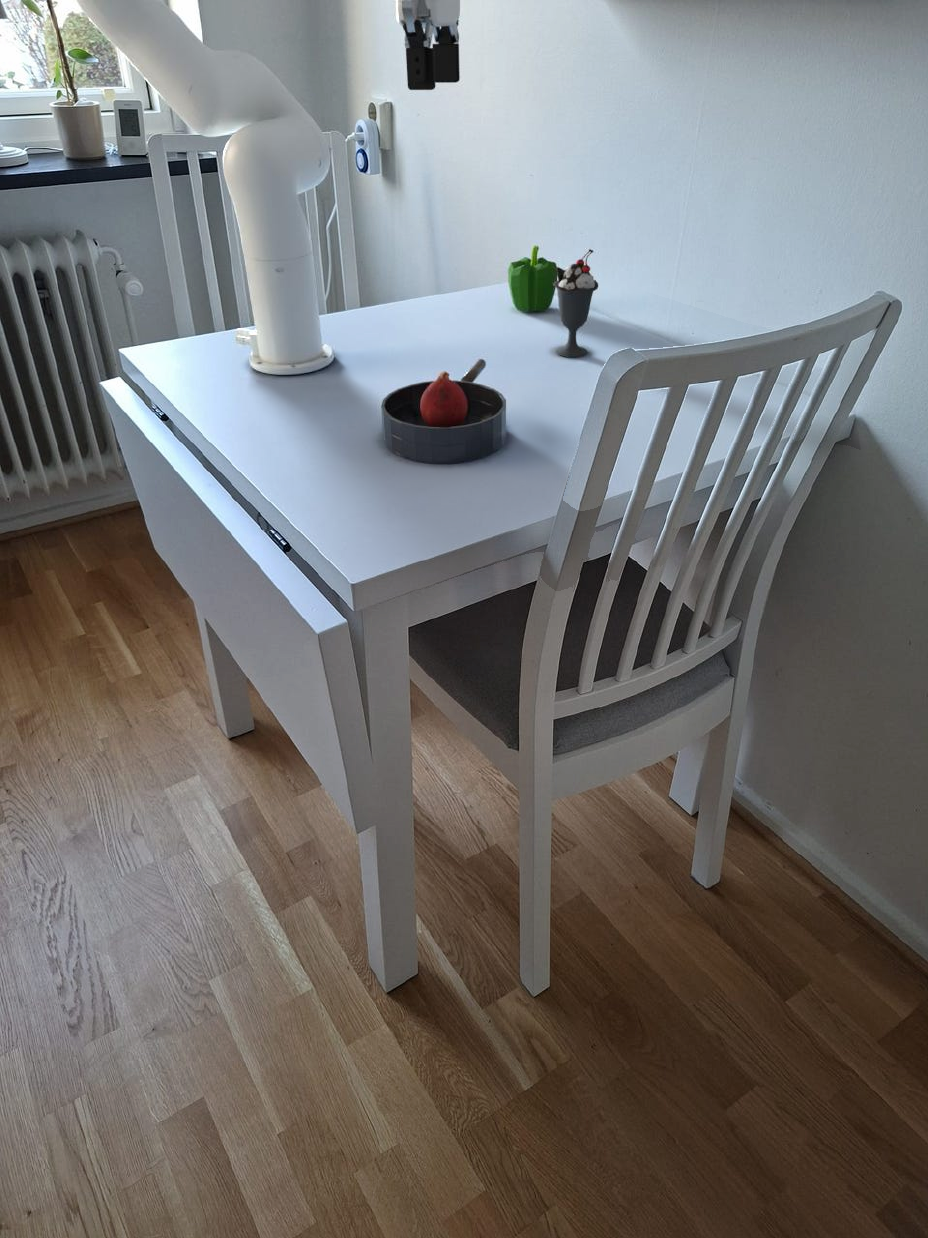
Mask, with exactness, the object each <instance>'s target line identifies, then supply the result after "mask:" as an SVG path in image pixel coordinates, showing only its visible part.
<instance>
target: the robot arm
mask: <svg viewBox="0 0 928 1238" xmlns="http://www.w3.org/2000/svg"><path fill="white" fill-rule="evenodd" d="M395 1H396V3H395V7H396V8H395V9H396V20H397V23H398V24H399V26H401V27H402V29H403V31H404V34H405V35H404V47H405V60H406V62H405V63H406V79H407V80H406V81H407V88H408V90H410V91H433V90H435V89H436V83H437V84H438V83H439V84H440V83H442V84H443V83H445V84H447V83H449V84H452V83H459V82H460V78H461V77H460V76H461V75H460V43H459V42H460V32H459V29H458V26H459V24H460V23H459V22H460V20H459V19H460V14H461V0H395ZM76 2H77V4H78V5H79V8H81V10H82V11H83V13H84V14H85V16H86V17H87V18H88V20H89V21H90V22H91V23H92V24H93V25H94V27H95V28H96V29H97V30H98V31H99V32H100V34H102V35H103V37H105V39H107V40H108V42H110V43H111V44H112V45H113V47H115V48H116V49H117V50H118V51H119V52H120V53H121V54H122V55H123V56H124V57H125V58H126V60H127V61H128V62H130V64H131V65H132V66H133V67H134V68H135V69H136V70H137V72H139V74H140V75H141V76H142V78H143V79H144V80H145V81H146V82H147V83H148V84H149V85H150V86H151V88H153V90H154V91H155V92H156V93H157V95H159V96H160V97H161V99H162V100H163V101H164V102H165V103H166V104H167V106H169V107H170V108H171V110H172V111H173V112H174V113H175V114H176V115H177V116H178V117H179V118H180V120H181V121H182V122H183V123H184V124H185V125H186V126H187V127H188V128H189V129H191V130H192V132H194V133H195V134H198V135H200V136H202V137H208V138H217V137H222V136H228V135H231V134H232V135H231V136H230V138H229V139H228V140H227V143H226V144H225V147H224V150H223V155H222V171H223V176H224V180H225V184H226V187H227V189H228V193H229V197H230V199H231V203H232V205H233V209H234V212H235V217H236V220H237V225H238V230H239V236H240V241H241V247H242V254H243V258H244V264H245V271H246V277H247V283H248V291H249V297H250V303H251V309H252V316H253V323H254V329H250V328H243V327H242V328H241V327H240V328H237V329H236V332H235V344H236V345H237V346H239V347H240V346H241V347H250V349H251V353H250V354H249V356H248V359H249V365H250V367H251V368H252V369H253V370H255V371H257V372H260V373H263V374H268V375H277V376H292V375H301V374H306V373H312V372H316V371H318V370H321V369H324V368H325V367H328V366H329V365H330V364H331V363H332V362H333V361H334V358H335V355H334V349H333V348H332V347H331V346H330V345H328V344H326V343H323V339H322V331H321V320H320V312H319V301H318V294H317V285H316V275H315V266H314V258H313V250H312V242H311V233H310V229H309V225H308V222H307V219H306V218H307V217H306V215H305V213H304V211H303V208H302V206H301V203H300V199H299V195H300V194H303V193H305V192H307V191H309V190H312V189H314V188H315V187H317V186H318V185H320V184H321V183H322V182H324V180H325V178H326V177H327V175H328V173H329V171H330V170H329V169H330V165H331V152H330V146H329V143H328V141H327V138H326V136H325V135H324V132H323V131H322V129H321V128H320V126H319V125H318V123H317V122H316V121H315V119H314V118H312V116H311V115H310V114H309V113H308V111H307V110H306V109H305V108H304V107H303V106H302V105H301V103H300V102H299V100H297V99H296V97H295V96H294V95H293V94H292V93H291V92H290V91H289V90H288V89H287V88H286V86H285V85H284V84H283V83H282V82H281V80H279V78H278V77H277V76H276V75H275V74H274V73H273V71H272V70H271V69H270V68H269V67H268V66H266V64H265V63H264V62H262V61H261V60H260V59H258V58H257V57H255V56H253V55H252V54H250V53H248V52H246V51H243V50H239V49H223V50H215V49H212V48H210V47H209V46H207V45H206V44H205V43H203V41H201V40H200V39H199V37H198V36H197V35H196V34H195V33H194V32H193V31H192V30H191V29H190V28H189V26H188V25H186V23H185V22H184V21H183V20H182V18H181V17H180V16H179V15H178V14H177V13H176V11H174V10H173V9H172V8H171V7H169V6H168V5H167V4H166V3H165V2H163V1H162V0H76ZM433 38H434V42H435V43H432V41H433ZM431 46H432V47H431Z"/></svg>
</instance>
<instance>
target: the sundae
mask: <svg viewBox="0 0 928 1238" xmlns="http://www.w3.org/2000/svg"><path fill="white" fill-rule="evenodd" d="M592 253H594V250H593V249H591V248H589V249H588V252H586V254H584V255H583V257H581V259H580V258H579V259H577V260H576V262H575V263H572V264H570V265H568V266H567V267H566V268H565V269H563V268H561V267H559V266H557V268H556V269H557V275H558V276H557V281H554V282H553V285H554V286H555V287H556V288H555V289H556V291H557V300H558V301H557V302H558V313H559V320H560V322H561V324H562V325H563V326H564V327H565V328H566V329H567V330H568V338H567V341H566V344H564V345H563V346H562V345H561V346H558V347H557V348H556V349H555V351H554V352H555V354H556V355H558V356H559V357H560V356H561V357H564V358H581V357H584V356H586V355H587V354H588V349H586V347H583V346H579V344H578V343H577V332H578V331H579V329H581V328H582V327H583V326H584V325H585V324H586V322H587V321H588V317H589V312H590V309H591V308H590V307H591V304H592V303H591V302H592V297H593V294H594V292H595V291H596V290H598V289H599V282H598V281H597V280H596V279H594V276H593V275H592V273H591V272H590V271H591V266H589V265H588V263H587V261H588V257H589V256H590V255H591V254H592ZM584 259H585V261H584Z"/></svg>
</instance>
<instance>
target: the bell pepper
mask: <svg viewBox="0 0 928 1238" xmlns="http://www.w3.org/2000/svg"><path fill="white" fill-rule="evenodd" d="M539 249H540V247H539V246H538V245H533V246H532V249H531V257H530V258H529V257H526V256H524V257H523V258H521V259H519V260H517V261H512V262H510V264H509V267H508V269H507V281H508V288H509V293H510V297H511V300H512V303H513V306H514V307H515V309H516V310H517V311H519V312H520V311H521V312H524V313H525V312H526V313H527V312H545V311H547V310H548V309H549V308H550V306H551V305H552V303H553V299H554V296H555V294H556V293H555V292H556V289H557V288H556V287H555V286H554V285H553V282H554V281H558V275H557V269H556V268H557V267H558V266H557V263H556V262H554V261H550V260H548V259H546V258H544V257H543V256H542V257H538V252H539Z"/></svg>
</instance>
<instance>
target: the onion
mask: <svg viewBox="0 0 928 1238" xmlns="http://www.w3.org/2000/svg"><path fill="white" fill-rule="evenodd" d="M452 380H453V379H450V373H449V372H447V371H446V370H444V371H441V372H439V375H438V377H437V379H436V380H433V381H434V382H433V383H431V384H430V385H429V386H428V387H427V389H426V390H425V391H424V393H423V395H422V398H421V404H420V409H421V414H422V418H423V419H424V421H425V423H426V424H427V425H428V426H429V427H455V426H459V425H460V424H461V423H462V422H463V420H464V419H465V417H466V415H467V410H468V404H467V399H466V396H465V394H464V392H463V390H462V389H461V388H460V386H459V385H458V384H456V383H455V382H454V381H452Z"/></svg>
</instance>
